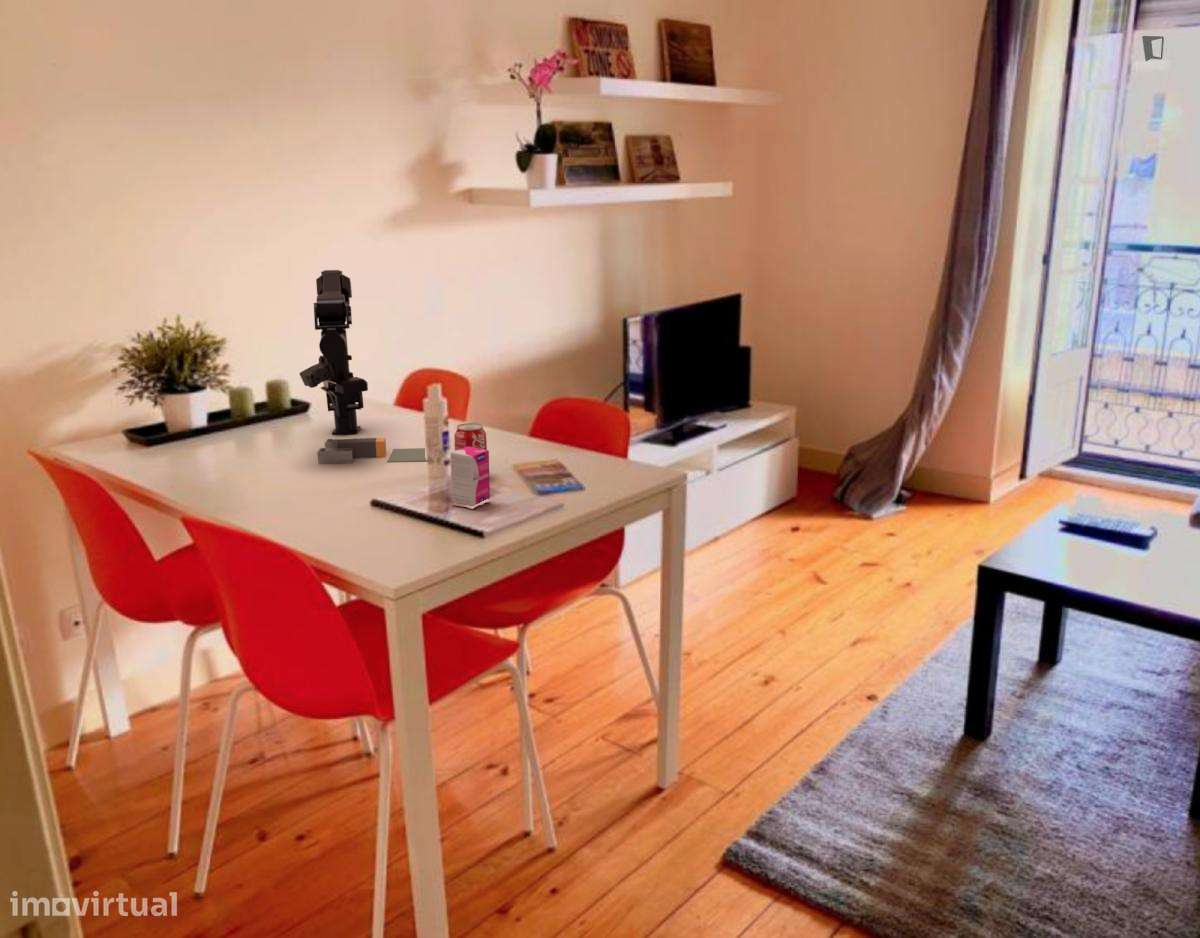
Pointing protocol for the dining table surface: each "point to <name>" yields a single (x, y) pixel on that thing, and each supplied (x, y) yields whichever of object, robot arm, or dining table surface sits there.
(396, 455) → the mat
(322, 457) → the housing
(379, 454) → the grey orange block
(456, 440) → the soda can
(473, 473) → the supplement box
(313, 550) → the dining table surface
